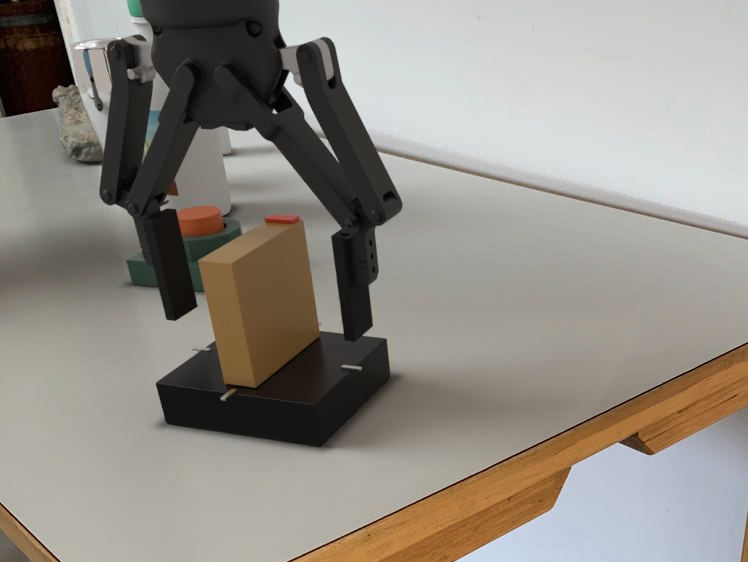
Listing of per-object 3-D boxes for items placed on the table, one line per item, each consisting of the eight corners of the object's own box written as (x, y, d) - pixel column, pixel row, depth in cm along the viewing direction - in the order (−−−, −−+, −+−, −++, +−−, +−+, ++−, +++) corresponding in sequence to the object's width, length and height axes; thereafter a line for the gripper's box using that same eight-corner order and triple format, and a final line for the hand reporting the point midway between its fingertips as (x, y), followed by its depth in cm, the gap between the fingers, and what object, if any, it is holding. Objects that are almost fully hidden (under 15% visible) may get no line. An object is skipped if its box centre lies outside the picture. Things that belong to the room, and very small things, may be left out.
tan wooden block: (256, 388, 64) (230, 259, 58) (224, 384, 64) (196, 256, 59) (320, 335, 70) (302, 215, 65) (291, 332, 71) (271, 212, 66)
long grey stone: (57, 180, 124) (138, 175, 127) (46, 134, 121) (129, 130, 123) (60, 110, 149) (128, 107, 152) (51, 71, 146) (121, 68, 148)
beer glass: (136, 203, 110) (98, 49, 100) (93, 196, 113) (53, 46, 103) (180, 187, 114) (148, 38, 105) (139, 181, 117) (104, 35, 108)
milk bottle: (232, 200, 109) (191, -14, 97) (233, 220, 103) (190, -5, 91) (161, 207, 108) (111, -8, 95) (158, 227, 102) (105, 1, 90)
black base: (148, 429, 66) (136, 386, 64) (249, 353, 76) (241, 313, 74) (321, 456, 62) (314, 411, 60) (404, 372, 72) (401, 330, 70)
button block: (132, 284, 89) (120, 238, 87) (187, 252, 96) (178, 209, 93) (236, 294, 86) (226, 248, 83) (286, 261, 92) (279, 217, 90)
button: (170, 237, 88) (166, 217, 87) (195, 224, 90) (191, 204, 89) (208, 240, 86) (204, 220, 85) (232, 227, 89) (228, 207, 88)
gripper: (440, -77, 51) (461, 320, 65) (55, -68, 59) (146, 287, 72) (380, -64, 46) (416, 366, 59) (-36, -56, 53) (80, 325, 67)
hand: (268, 323), depth 66 cm, fingers open, 13 cm apart
